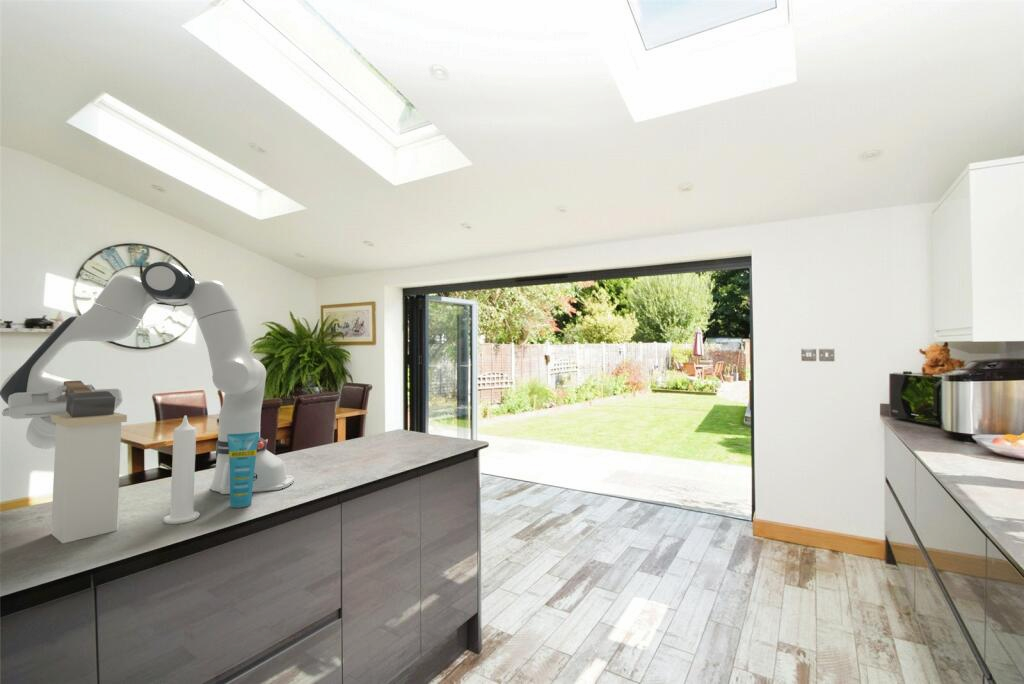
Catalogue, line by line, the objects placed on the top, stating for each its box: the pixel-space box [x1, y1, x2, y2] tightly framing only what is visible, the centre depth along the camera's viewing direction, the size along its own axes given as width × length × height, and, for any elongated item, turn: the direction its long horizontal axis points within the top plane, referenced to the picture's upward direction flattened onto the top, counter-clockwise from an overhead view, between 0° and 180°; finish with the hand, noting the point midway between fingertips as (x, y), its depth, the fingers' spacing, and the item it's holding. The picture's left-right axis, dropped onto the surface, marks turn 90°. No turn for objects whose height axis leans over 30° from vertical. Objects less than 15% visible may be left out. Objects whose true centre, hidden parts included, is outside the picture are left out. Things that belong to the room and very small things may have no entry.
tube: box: [227, 431, 261, 509], centre depth 123 cm, size 7×5×19 cm, turn 123°
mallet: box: [64, 380, 116, 418], centre depth 107 cm, size 7×18×4 cm, turn 56°
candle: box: [163, 415, 200, 525], centre depth 113 cm, size 7×7×25 cm
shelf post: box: [50, 411, 128, 544], centre depth 104 cm, size 12×10×26 cm
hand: (76, 387), depth 110 cm, fingers closed on mallet, 3 cm apart
